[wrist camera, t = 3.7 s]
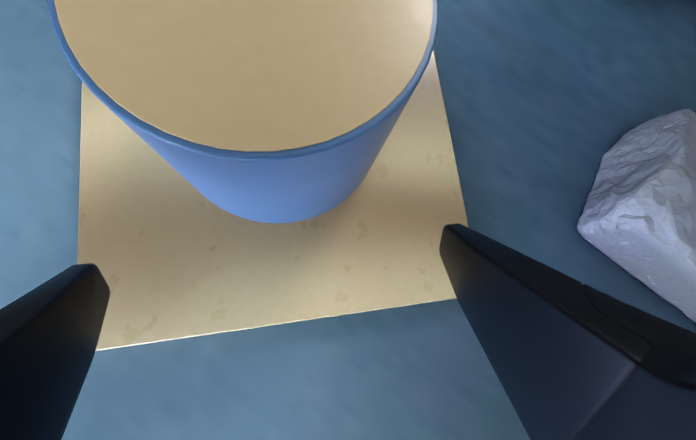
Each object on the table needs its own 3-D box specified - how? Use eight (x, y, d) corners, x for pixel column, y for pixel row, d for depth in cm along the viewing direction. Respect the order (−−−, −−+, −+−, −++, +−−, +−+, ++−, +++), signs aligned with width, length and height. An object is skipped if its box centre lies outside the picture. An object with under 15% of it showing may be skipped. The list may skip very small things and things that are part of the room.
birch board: (472, 294, 17) (483, 294, 16) (89, 349, 14) (73, 354, 13) (393, -115, 22) (397, -134, 21) (98, -134, 19) (86, -157, 18)
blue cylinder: (331, 257, 15) (361, 227, 8) (131, 170, 15) (-56, 44, 7) (404, 87, 18) (483, -69, 10) (232, 8, 17) (175, -220, 10)
